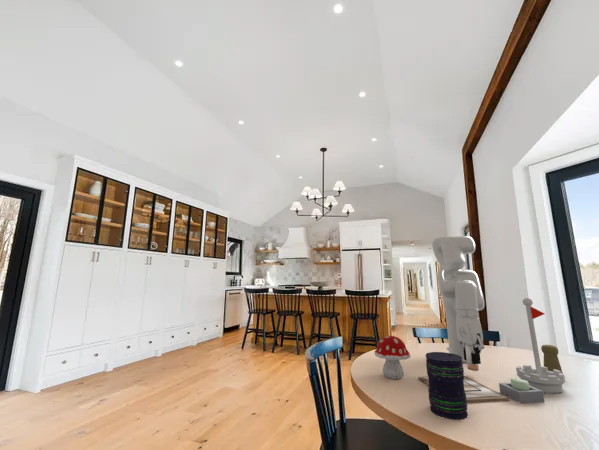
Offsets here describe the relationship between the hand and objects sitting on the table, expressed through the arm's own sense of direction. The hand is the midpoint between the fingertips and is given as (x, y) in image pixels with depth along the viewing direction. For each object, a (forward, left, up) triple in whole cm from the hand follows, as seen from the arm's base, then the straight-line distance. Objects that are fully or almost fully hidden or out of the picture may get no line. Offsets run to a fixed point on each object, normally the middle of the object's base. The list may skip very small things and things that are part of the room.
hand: (472, 361), depth 113 cm
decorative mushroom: (-4, -30, -6) cm, 31 cm away
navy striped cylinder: (+27, -28, -6) cm, 39 cm away
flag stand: (+13, +16, -6) cm, 21 cm away
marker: (0, 0, -3) cm, 3 cm away
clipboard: (+11, -14, -5) cm, 18 cm away
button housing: (+20, +2, -5) cm, 21 cm away
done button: (+20, +2, -4) cm, 21 cm away
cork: (+2, +32, -6) cm, 32 cm away
